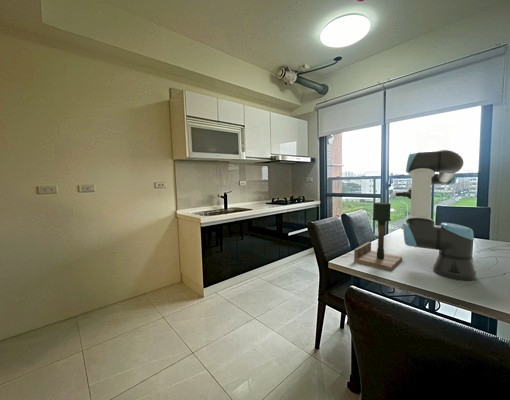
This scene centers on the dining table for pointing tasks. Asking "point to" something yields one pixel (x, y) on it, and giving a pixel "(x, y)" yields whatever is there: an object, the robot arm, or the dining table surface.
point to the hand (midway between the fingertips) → (403, 195)
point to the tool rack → (375, 258)
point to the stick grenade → (381, 224)
